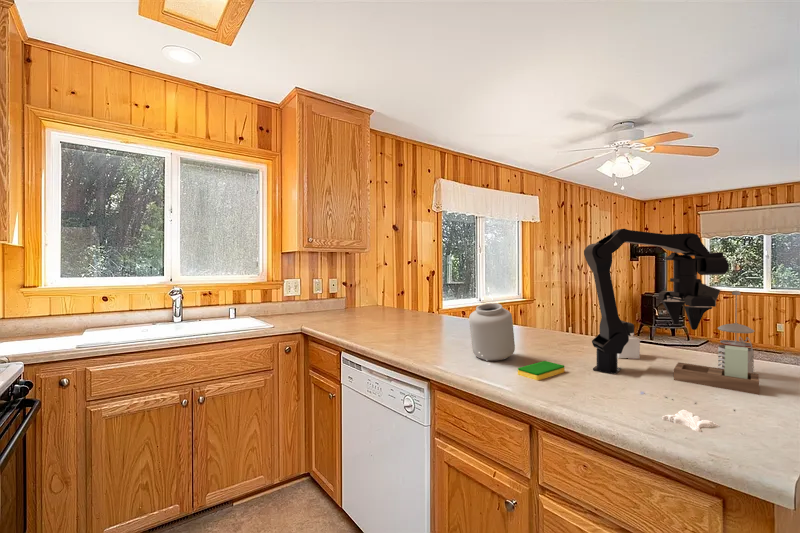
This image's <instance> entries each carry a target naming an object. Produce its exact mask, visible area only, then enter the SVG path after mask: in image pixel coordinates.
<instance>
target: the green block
mask: <svg viewBox="0 0 800 533" xmlns="http://www.w3.org/2000/svg"><path fill="white" fill-rule="evenodd" d="M748 348H749V347H747V348H745V347H736V346H727V345H725V376H731V377H737V378H744V379H748Z"/></svg>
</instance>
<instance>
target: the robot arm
mask: <svg viewBox="0 0 800 533" xmlns="http://www.w3.org/2000/svg"><path fill="white" fill-rule="evenodd" d="M624 243H627V244H634V245H644V246H650V247H651V246H653V247H659V248H662V249H664V250H667V251H670V252H671V253H670V254H669V255H668V256H667V257H665V258H664V260H665V261H673V267H672V268H673V270H672V272H673V273H672V275H673V276H672V277H671V278H670V279H669V282H672V286H673V287H672V289H673V290H661V291H660V292H659V293H658V296H657V297H658V300H659V301H660V303H662V306H663V307H664V308H665V310H666V311H667V313H668V315H669V317H670V319H671V321H672V323H673V324H674V325H679V324H680V323H679V322H680V316H681V309H682V306H683V307H684V310H685V313H686V317H687V319H688V323H689V325H690V329H691V330H692V331H693V330H694V331H695V330H697V329H698V327H699V325H700V323H701V320H702V318H703V316H704V314H705V312H707V311H709V310H712V309H713V307H717V299H718V297H719V295H720V293H721V289H718V288H715V287H713V286H709V285H707V284H705V283H703V281H702V280H701V278H698V274H699V275H700V276H721V275H722V276H724V275H725V274H727V272H728V270H729V267H730V265H729V264H730V263H729V262H728V259H727V258H726V257H725V256H724V252H721V251H718V252H710V251H709V249H708V248H707V247H706V246H705V245H704V244H703V242H702V240H701V237H700V236H699V234H697V233H693V232H689V233H688V232H687V233H670V234H666V233H657V232H650V231H648V232H647V231H641V230H633V229H632V230H630V229H627V228H621V229H620V228H618V229H615V230H613V231H612V232H611V233H610V234H608V235H606V236H605V237H603V238H602V239H600V240H599V241H597V242H595V243H590V244H588V245H587V246H586V247H585V249H584V250H583V255H584V256H583V257H584V258H585V261H586V263H587V265H588V267H589V268H590V270H591V272H592V274H593V278H594V285H595V288H596V294H597V299H598V304H599V311H600V313H601V318H600V322H599V334H597V335H596V336H595V337H594V338H593V339H592V340H591V343H592V346H593V348H595V349H596V365H595V366H594V367H592V370H593V371H597V372H603V373H608V374H614V375H616V374H618V373H619V372H620V371H621V370H622V368H621V367H618V366H619V365H618V364H619V363H618V359H619V358H618V354H621V353H622V350H623V348H624V346H625V345H626V344H627V343H628V341H629V336H631V335H630V333H629V331H628V323H627V322H628V321H625V320H621V318H620V317H619V313H618V306H617V302H616V301H617V300H616V296H615V292H614V287H613V281H612V275H611V269H612V268H611V267H612V264H613V253H615V252H616V251H618V250H619V249H620V248H621V247H622V246H623V245H624ZM692 256H693V257H694V258H693V257H692ZM628 335H629V336H628Z"/></svg>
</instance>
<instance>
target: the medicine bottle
mask: <svg viewBox="0 0 800 533" xmlns="http://www.w3.org/2000/svg"><path fill="white" fill-rule="evenodd" d="M626 322H627V323H628V331H629V333H630V335H631V336H629V335H628V336H629V341H628V343H627V344H626V345H625V346H624V348H623V350H622V353H621V354H618V359H619V358H628V360H629V359H631V360H632V359H633V360H640V359H641V358H640V357H641V352H640V349H641V347H640V346H641V339H640V338H639V337H637V336H635V325H634V323H632V322H629V321H626Z"/></svg>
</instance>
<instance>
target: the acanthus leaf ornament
mask: <svg viewBox="0 0 800 533" xmlns="http://www.w3.org/2000/svg"><path fill="white" fill-rule="evenodd" d="M661 419H662V421H668V422H671V423H675V424H679V425H683V426H686V427H688V428H691V430H692V431H695V432H699V433H700V432H702V429H701V428H709V427H711V428H713V427H712V426H714V427H720V425H719V424H718V423H715V422H713V421H712V420H708V419H702V420H701V417H700V416H699V415H694V413H693V412H691V411H688V410H686V409H681V410H679V411H678V413H675V414H666V415H662V416H661Z"/></svg>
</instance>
